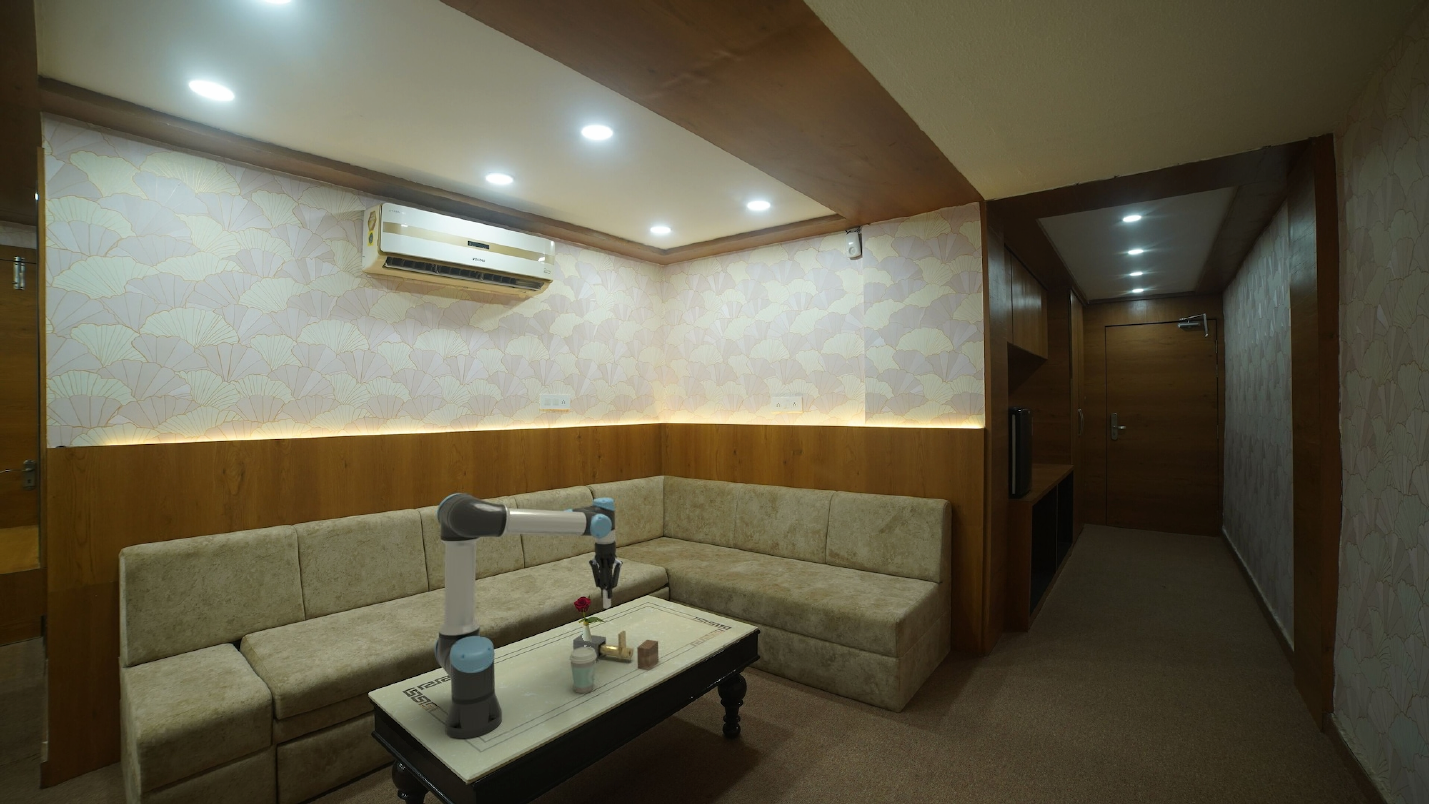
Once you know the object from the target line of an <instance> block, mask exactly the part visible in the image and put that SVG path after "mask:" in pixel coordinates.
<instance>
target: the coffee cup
mask: <svg viewBox="0 0 1429 804" xmlns="http://www.w3.org/2000/svg"><path fill="white" fill-rule="evenodd" d="M596 657H597V655H596V652H595V650H594V649H593V648H591V647H581V648H577V649H575V650H572V651H571V653H570V655H569V662H570V666H571V673H572V681H573V687H574V691H575V693H578V694H586V693H590V692H591V691H593V689H594V682H595V672H596V671H595V670H596V662H597V661H596Z"/></svg>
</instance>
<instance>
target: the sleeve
mask: <svg viewBox="0 0 1429 804" xmlns="http://www.w3.org/2000/svg"><path fill="white" fill-rule="evenodd" d="M583 634H584V633H581V634H580V635H578V636H577V637H575V638H574V639H573V640H572V641H573V642H572V649H573V650H575V649H577V648H581V647H584V645H587V646H586V647H590V646H591V648H593V649H594V650H595V652H596V655H597V657H596V661H595V662H598V661H599V660H601V658H603V657H604V656H605V655H603V654H598V645H600V644H605V645H607V637H606V636H599V635H596V634H595V635H593V634H590V635H591V639H592V642H590V641H584V640H583V638H582V635H583ZM573 650H572V651H573Z"/></svg>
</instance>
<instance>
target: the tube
mask: <svg viewBox="0 0 1429 804" xmlns="http://www.w3.org/2000/svg"><path fill="white" fill-rule="evenodd" d="M626 632H627V631H626V630H622V631H621V632H620V633H618V634H617V639H618V641H617V642H618V644H617V645H612V644H611V645H610V644H606V645H605V644H600V645H598V654H603V655H604V656H609V657H615V658H617V657H618V660H622V659H629V660H631V659H632V658H633V655H634V649H633V647H632V648H631V647H627V641H626V640H627V639H626V638H627V636H626V635H627V633H626Z"/></svg>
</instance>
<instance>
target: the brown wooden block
mask: <svg viewBox="0 0 1429 804" xmlns="http://www.w3.org/2000/svg"><path fill="white" fill-rule="evenodd" d="M636 650H637V651H636V653H637V669H640V670H647V671H650V670H651V669H653V667H654V666H656V664H658V662H659V640H652V639H646V640H644V641H643V642H642V643H640V644H639V645H638V646H637V648H636Z"/></svg>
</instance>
